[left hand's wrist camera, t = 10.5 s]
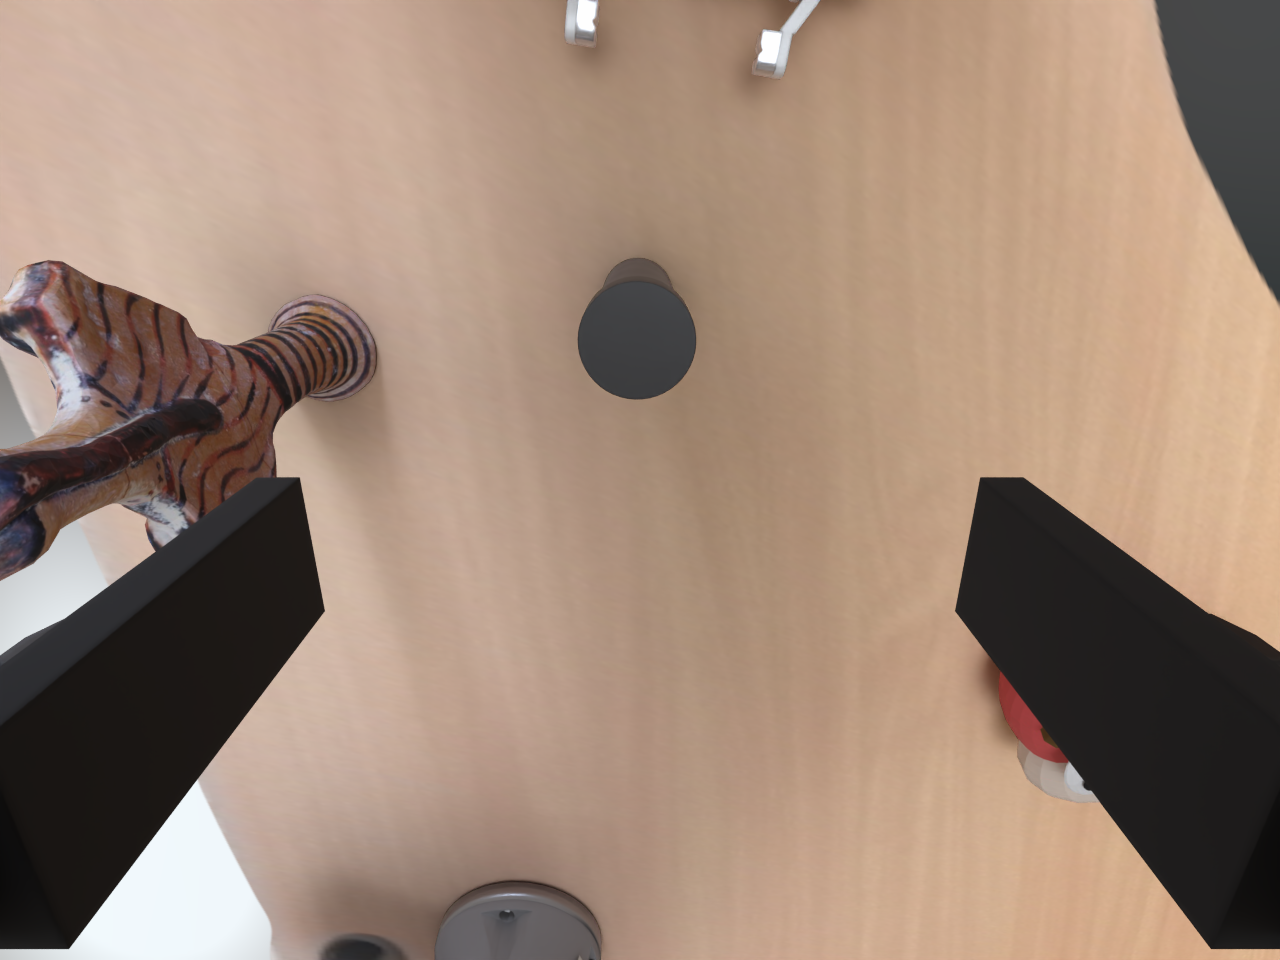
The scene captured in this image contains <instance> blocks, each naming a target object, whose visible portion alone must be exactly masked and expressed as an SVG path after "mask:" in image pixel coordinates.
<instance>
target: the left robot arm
mask: <svg viewBox="0 0 1280 960" xmlns="http://www.w3.org/2000/svg"><path fill="white" fill-rule="evenodd" d="M324 612H325V609H324V604H323V599H322V593H321V588H320V583H319V578H318V572H317V567H316V562H315V556H314V551H313V546H312V540H311V535H310V530H309V524H308V519H307V514H306V509H305V503H304V498H303V493H302V487H301V482H300V477H257V478H255V479H254V480H252V481H251V482H250V483H248V484H247V485H246V486H244V487H243V488H242V489H240V490H239V491H238V492H236V493H235V494H233V495H232V496H231V497H229V498H228V499H227V500H225V501H224V502H223V503H221V504H220V505H219V506H217V507H216V508H214V509H213V510H212V511H210V512H209V513H208V514H206V515H205V516H204V517H202V518H201V519H200V520H198V521H197V522H195V523H194V524H193V525H191V526H190V527H189V528H187V529H186V530H185V531H183V532H182V533H181V534H179V535H178V536H176V537H175V538H174V539H172V540H171V541H170V542H168V543H167V544H166V545H164V546H163V547H162V548H160V549H159V550H157V551H156V552H155V553H153V554H152V555H151V556H149V557H148V558H147V559H145V560H144V561H142V562H141V563H140V564H138V565H137V566H136V567H134V568H133V569H132V570H130V571H129V572H128V573H126V574H125V575H123V576H122V577H121V578H119V579H118V580H117V581H115V582H114V583H113V584H111V585H110V586H109V587H107V588H106V589H104V590H103V591H102V592H100V593H99V594H98V595H96V596H95V597H94V598H92V599H91V600H90V601H88V602H87V603H86V604H84V605H83V606H81V607H80V608H79V609H77V610H76V611H75V612H73V613H72V614H71V615H69V616H68V617H67V618H65V619H63V620H61V621H59V622H57V623H55V624H53V625H51V626H49V627H47V628H44V629H42V630H40V631H38V632H36V633H34V634H32V635H30V636H28V637H26V638H24V639H23V640H21V641H20V642H18V643H17V644H16V645H14V646H13V647H11V648H10V649H9V650H7V651H6V652H5V653H3V654H2V655H0V949H69V948H70V947H71V946H72V944H73V943H74V942H75V940H76V939H77V938H78V936H79V935H80V934H81V932H82V931H83V930H84V928H85V927H86V926H87V924H88V923H89V922H90V920H91V919H92V918H93V916H94V915H95V914H96V913H97V911H98V910H99V909H100V907H101V906H102V904H103V903H104V902H105V901H106V899H107V898H108V897H109V895H110V894H111V893H112V891H113V890H114V889H115V887H116V886H117V885H118V883H119V882H120V881H121V880H122V878H123V877H124V876H125V874H126V873H127V872H128V870H129V869H130V868H131V866H132V865H133V864H134V862H135V861H136V860H137V858H138V857H139V856H140V854H141V853H142V852H143V850H144V849H145V848H146V846H147V845H148V844H149V842H150V841H151V840H152V839H153V837H154V836H155V835H156V833H157V832H158V831H159V829H160V828H161V827H162V825H163V824H164V823H165V821H166V820H167V819H168V817H169V816H170V815H171V814H172V812H173V811H174V809H175V808H176V807H177V806H178V804H179V803H180V802H181V800H182V799H183V798H184V796H185V795H186V794H187V792H188V791H189V790H190V788H191V787H192V786H193V784H194V783H195V782H196V781H197V779H198V778H199V777H200V775H201V774H202V773H203V771H204V770H205V769H206V767H207V766H208V765H209V763H210V762H211V761H212V759H213V758H214V757H215V755H216V754H217V753H218V751H219V750H220V749H221V748H222V746H223V745H224V744H225V742H226V741H227V740H228V738H229V737H230V736H231V734H232V733H233V732H234V730H235V729H236V728H237V726H238V725H239V724H240V722H241V721H242V720H243V718H244V717H245V716H246V715H247V713H248V712H249V711H250V709H251V708H252V707H253V705H254V704H255V703H256V701H257V700H258V699H259V697H260V696H261V695H262V693H263V692H264V691H265V689H266V688H267V687H268V685H269V684H270V683H271V682H272V680H273V679H274V678H275V676H276V675H277V674H278V672H279V671H280V670H281V668H282V667H283V666H284V664H285V663H286V662H287V660H288V659H289V658H290V656H291V655H292V654H293V652H294V651H295V650H296V649H297V647H298V646H299V645H300V643H301V642H302V641H303V639H304V638H305V637H306V635H307V634H308V633H309V631H310V630H311V629H312V627H313V626H314V625H315V623H316V622H317V621H318V619H319V618H320V617H321V615H322V614H323V613H324ZM955 612H956V613H957V614H958V615H959V617H960V618H961V619H962V621H963V622H964V623H965V625H966V626H967V627H968V629H969V630H970V631H971V633H972V634H973V635H974V637H975V638H976V639H977V641H978V642H979V643H980V645H981V646H982V647H983V648H984V650H985V651H986V652H987V654H988V655H989V656H990V658H991V659H992V660H993V662H994V663H995V664H996V666H997V667H998V668H999V670H1000V671H1001V672H1002V674H1003V675H1004V676H1005V678H1006V679H1007V680H1008V681H1009V683H1010V684H1011V685H1012V687H1013V688H1014V689H1015V691H1016V692H1017V693H1018V695H1019V696H1020V697H1021V699H1022V700H1023V701H1024V703H1025V704H1026V705H1027V707H1028V708H1029V709H1030V711H1031V712H1032V713H1033V715H1034V716H1035V717H1036V718H1037V720H1038V721H1039V722H1040V724H1041V725H1042V726H1043V728H1044V729H1045V730H1046V732H1047V733H1048V734H1049V736H1050V737H1051V738H1052V740H1053V741H1054V742H1055V744H1056V745H1057V746H1058V748H1059V749H1060V750H1061V751H1062V753H1063V754H1064V755H1065V757H1066V758H1067V759H1068V761H1069V762H1070V763H1071V765H1072V766H1073V767H1074V769H1075V770H1076V771H1077V773H1078V774H1079V775H1080V777H1081V778H1082V779H1083V781H1084V782H1085V783H1086V784H1087V786H1088V787H1089V788H1090V790H1091V791H1092V792H1093V794H1094V795H1095V796H1096V798H1097V799H1098V800H1099V802H1100V803H1101V804H1102V806H1103V807H1104V808H1105V810H1106V811H1107V812H1108V814H1109V815H1110V816H1111V817H1112V819H1113V820H1114V821H1115V823H1116V824H1117V825H1118V827H1119V828H1120V829H1121V831H1122V832H1123V833H1124V835H1125V836H1126V837H1127V839H1128V840H1129V841H1130V843H1131V844H1132V845H1133V847H1134V848H1135V849H1136V850H1137V852H1138V853H1139V854H1140V856H1141V857H1142V858H1143V860H1144V861H1145V862H1146V864H1147V865H1148V866H1149V868H1150V869H1151V870H1152V872H1153V873H1154V874H1155V876H1156V877H1157V878H1158V880H1159V881H1160V882H1161V883H1162V885H1163V886H1164V887H1165V889H1166V890H1167V891H1168V893H1169V894H1170V895H1171V897H1172V898H1173V899H1174V901H1175V902H1176V903H1177V905H1178V906H1179V907H1180V909H1181V910H1182V911H1183V913H1184V914H1185V915H1186V916H1187V918H1188V919H1189V920H1190V922H1191V923H1192V924H1193V926H1194V927H1195V928H1196V930H1197V931H1198V932H1199V934H1200V935H1201V936H1202V938H1203V939H1204V940H1205V942H1206V943H1207V944H1208V946H1209V947H1210V948H1211V949H1280V652H1279V651H1278V650H1276V649H1275V648H1273V647H1272V646H1271V645H1269V644H1268V643H1266V642H1265V641H1264V640H1262V639H1261V638H1259V637H1258V636H1257V635H1255V634H1253V633H1251V632H1248V631H1246V630H1244V629H1242V628H1240V627H1238V626H1236V625H1234V624H1232V623H1230V622H1227V621H1225V620H1223V619H1221V618H1219V617H1217V616H1215V615H1213V614H1208V613H1207V612H1205V611H1204V610H1203V609H1201V608H1200V607H1199V606H1197V605H1196V604H1195V603H1193V602H1192V601H1190V600H1189V599H1188V598H1186V597H1185V596H1184V595H1182V594H1181V593H1180V592H1178V591H1177V590H1176V589H1174V588H1173V587H1171V586H1170V585H1169V584H1167V583H1166V582H1165V581H1163V580H1162V579H1161V578H1159V577H1158V576H1157V575H1155V574H1154V573H1152V572H1151V571H1150V570H1148V569H1147V568H1146V567H1144V566H1143V565H1142V564H1140V563H1139V562H1138V561H1136V560H1135V559H1133V558H1132V557H1131V556H1129V555H1128V554H1127V553H1125V552H1124V551H1123V550H1121V549H1120V548H1119V547H1117V546H1116V545H1114V544H1113V543H1112V542H1110V541H1109V540H1108V539H1106V538H1105V537H1104V536H1102V535H1101V534H1099V533H1098V532H1097V531H1095V530H1094V529H1093V528H1091V527H1090V526H1089V525H1087V524H1086V523H1085V522H1083V521H1082V520H1080V519H1079V518H1078V517H1076V516H1075V515H1074V514H1072V513H1071V512H1070V511H1068V510H1067V509H1066V508H1064V507H1063V506H1061V505H1060V504H1059V503H1057V502H1056V501H1055V500H1053V499H1052V498H1051V497H1049V496H1048V495H1047V494H1045V493H1044V492H1042V491H1041V490H1040V489H1038V488H1037V487H1036V486H1034V485H1033V484H1032V483H1030V482H1029V481H1028V480H1026V479H1025V478H1023V477H980V482H979V487H978V493H977V498H976V503H975V509H974V514H973V519H972V524H971V530H970V535H969V540H968V546H967V551H966V556H965V562H964V567H963V572H962V578H961V583H960V588H959V593H958V599H957V604H956V609H955ZM601 943H602V942H601V933H600V929H599V926H598V924H597V922H596V920H595V919H594V917H593V916H592V914H591V913H590V912H589V911H588V910H587V909H586V908H585V907H584V906H583V905H582V904H581V903H580V902H578V901H577V900H576V899H574V898H573V897H571V896H569V895H567V894H566V893H563V892H561V891H559V890H556V889H554V888H551V887H547V886H544V885H539V884H534V883H526V882H506V883H498V884H492V885H488V886H484V887H481V888H478V889H476V890H474V891H471V892H470V893H468V894H466V895H464V896H463V897H461V898H460V899H458V900H457V901H456V902H455V903H454V904H453V905H452V906H451V907H450V908H449V909H448V911H447V912H446V914H445V915H444V917H443V920H442V922H441V925H440V929H439V933H438V936H437V940H436V944H435V960H601Z"/></svg>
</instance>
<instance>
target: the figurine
mask: <svg viewBox="0 0 1280 960" xmlns="http://www.w3.org/2000/svg"><path fill="white" fill-rule="evenodd" d="M0 336H1V338H2V339H3V340H5V341H6V342H8V343H9V344H11V345H12V346H14V347H16V348H17V349H19V350H22V351H24V352H26V353H29V354H31V355H33V356H36V357H38V358H39V359H40V361H41V362H42V363H43V365H44V366H45V369H46V371H47V373H48V375H49V378H50V380H51V382H52V384H53V386H54V389H55V391H56V399H57V408H58V410H57V414H56V417H55V420H54V422H53V425H52V426H51V427H50V429H49V430H48V431H47V432H46V433H45V434H44V435H43V436H41V437H39V438H37V439H35V440H33V441H30V442H27V443H24V444H21V445H18V446H15V447H12V448H8V449H0V581H1V580H3V579H5V578H7V577H8V576H10V575H12V574H14V573H16V572H18V571H20V570H22V569H24V568H26V567H28V566H30V565H32V564H33V563H34V562H35V561H36V560H37V559H39V558H40V557H41V556H42V555H43V554H44V553H45V552H47V551H48V550H49V548H50V546H51V544H52V543H53V541H54V539H55V538H56V536H57V534H58V533H59V531H60V529H61V528H63V527H65V526H66V525H68V524H69V523H71V522H73V521H75V520H77V519H79V518H81V517H83V516H84V515H86V514H88V513H90V512H93V511H95V510H97V509H99V508H102V507H104V506H106V505H109V504H112V503H118V504H121V505H122V506H124V507H125V508H127V509H130V510H132V511H134V512H136V513H138V514H140V515H142V516H144V517H146V518H147V520H146V523H145V527H146V532H147V536H148V539H149V541H150V543H151V545H152V546H153V548H154V550H155V551H157V550H159V549H160V548H162V547H163V546H164V545H166V544H167V543H168V542H170V541H171V540H172V539H174V538H175V537H176V536H178V535H179V534H181V533H182V532H183V531H185V530H186V529H187V528H189V527H190V526H191V525H193V524H194V523H195V522H197V521H198V520H200V519H201V518H202V517H204V516H205V515H206V514H208V513H209V512H210V511H212V510H213V509H214V508H216V507H217V506H219V505H220V504H221V503H223V502H224V501H225V500H227V499H228V498H229V497H231V496H232V495H233V494H235V493H236V492H238V491H239V490H240V489H242V488H243V487H244V486H246V485H247V484H248V483H250V482H251V481H252V480H254V479H255V478H257V477H276V457H275V449H274V445H273V432H274V429H275V426H276V424H277V422H278V420H279V419H280V417H281V416H282V415H283V414H284V413H285V412H286V411H287V410H289V409H290V408H291V407H292V406H294V405H295V404H296V403H297V402H299V401H300V400H301V399H303V398H304V397H309V398H312V399H315V400H320V401H337V400H341V399H344V398H347V397H350V396H352V395H353V394H355V393H356V392H358V391H360V390H361V389H362V388H363V387H365V385H366V384H368V383H369V381H370V380H371V378H372V376H373V374H374V370H375V364H376V351H375V344H374V340H373V338H372V336H371V334H370V332H369V330H368V328H367V327H366V325H365V324H364V323H363V322H362V321H361V320H360V318H359V317H358V316H357V315H356V314H355V313H354V312H353V311H351V310H350V309H349V308H348V307H346V306H345V305H344V304H341V303H339V302H338V301H336V300H333V299H331V298H327V297H324V296H321V295H309V296H304V297H301V298H299V299H296V300H294V301H292V302H289V303H287V304H285V305H284V306H283V307H282V308H281V309H279V310H278V312H277V313H276V314H275V316H274V317H273V318H272V321H271V323H270V326H269V328H268V333H266V334H263V335H260V336H258V337H255V338H253V339H250V340H248V341H245V342H243V343H240V344H238V345H233V346H231V345H222V344H220V343H217V342H215V341H213V340H204V339H201V338H198V337H197V336H196V335H195V333H194V332H193V330H192V328H191V326H190V324H189V322H188V320H187V319H186V318H185V317H184V316H182V315H181V314H180V313H178V312H176V311H174V310H172V309H170V308H167V307H165V306H163V305H161V304H158V303H155V302H153V301H151V300H149V299H147V298H145V297H142V296H140V295H137V294H135V293H132V292H129V291H126V290H124V289H121V288H119V287H116V286H111V285H107V284H103V283H100V282H97V281H95V280H93V279H91V278H90V277H88V276H86V275H84V274H83V273H81V272H79V271H78V270H76V269H74V268H72V267H71V266H69V265H67V264H66V263H64V262H61V261H50V260H48V261H43V262H39V263H35V264H31V265H27V266H25V267H23V268H21V269H19V270H18V272H17V273H16V275H15V276H14V278H13V281H12V284H11V286H10V289H9V290H8V292H7V293H6V294H5V295H4V297H3V298H2V299H1V301H0Z"/></svg>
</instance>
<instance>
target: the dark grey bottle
mask: <svg viewBox="0 0 1280 960" xmlns="http://www.w3.org/2000/svg"><path fill="white" fill-rule="evenodd" d="M630 276H643V277H649V278H653V279H656V280H659V281H661V282H663V283H665V284H666V285H668V286H669V287H671V288H672V289H673V287H672V284H671V282H670V279H669V277H668V275H667V274H666V272H665V271H664V270H663V269H662V268H661V267H660V266H659V265H658V264H656V263H655V262H653V261H650V260H648V259H643V258H633V259H628V260H625V261H623V262H621V263H619V264H618V265H617V266H615V267H614V268H613V269H612V270H611V272H610V273H609V275H608V276H607V278H606V281H605V283H604V286H603V287H605V286H606V285H608V284H609V283H611V282H613V281H615V280H618V279H621V278H624V277H630Z"/></svg>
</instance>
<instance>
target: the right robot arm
mask: <svg viewBox="0 0 1280 960" xmlns="http://www.w3.org/2000/svg"><path fill="white" fill-rule="evenodd" d="M789 1H790V2H795V3H796V2H798V1H799V4H798V5H797V7H796V8H795V10H794V11H793V12H792V14H791V15H790V16H789V18H788V19H787V20H786V22H785V23H784V24H783V26H782V27H781V28H780V30H779V31H773V30H766V29H763V30H762V31H761V34H759V36H758V38H757V43H756V49H755V53H756V55H757V57H756V59H755V60H754V61H753V65H752V75H757V76H762V77H768V78H773V79H780V78H782V77H783V75H784V72H785V69H786V65H787V60H788V55H789V50H790V45H791V40H792V37H793V36H794V35H795V34H796V32H797V31H798V30H799V28H800V27H801V26H802V24H803V23H804V22H805V20H806V19H807V18H808V16H809V15H810V14H811V12H812V11H813V10H814V8H815V7H816V6H817V4H818V3H819V2H820V0H789ZM599 14H600V7H599V2H598V0H567V10H566V21H565V41H566V43H567V44H573V45H579V46H586V47H592V48H595V47H596V42H597V32H596V27H597V26H598V24H599Z"/></svg>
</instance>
